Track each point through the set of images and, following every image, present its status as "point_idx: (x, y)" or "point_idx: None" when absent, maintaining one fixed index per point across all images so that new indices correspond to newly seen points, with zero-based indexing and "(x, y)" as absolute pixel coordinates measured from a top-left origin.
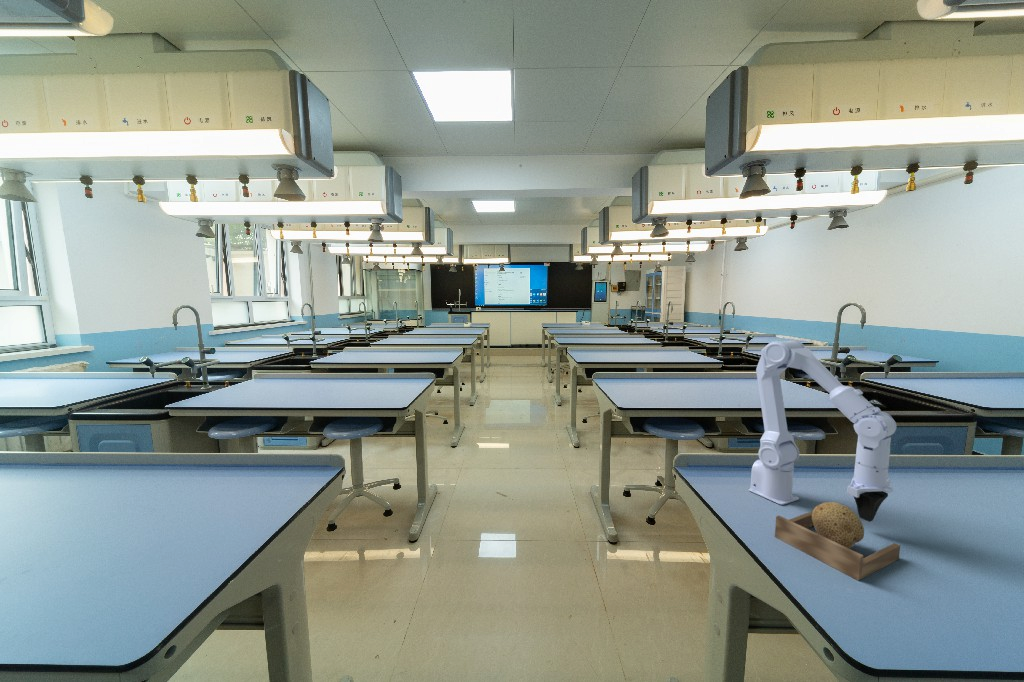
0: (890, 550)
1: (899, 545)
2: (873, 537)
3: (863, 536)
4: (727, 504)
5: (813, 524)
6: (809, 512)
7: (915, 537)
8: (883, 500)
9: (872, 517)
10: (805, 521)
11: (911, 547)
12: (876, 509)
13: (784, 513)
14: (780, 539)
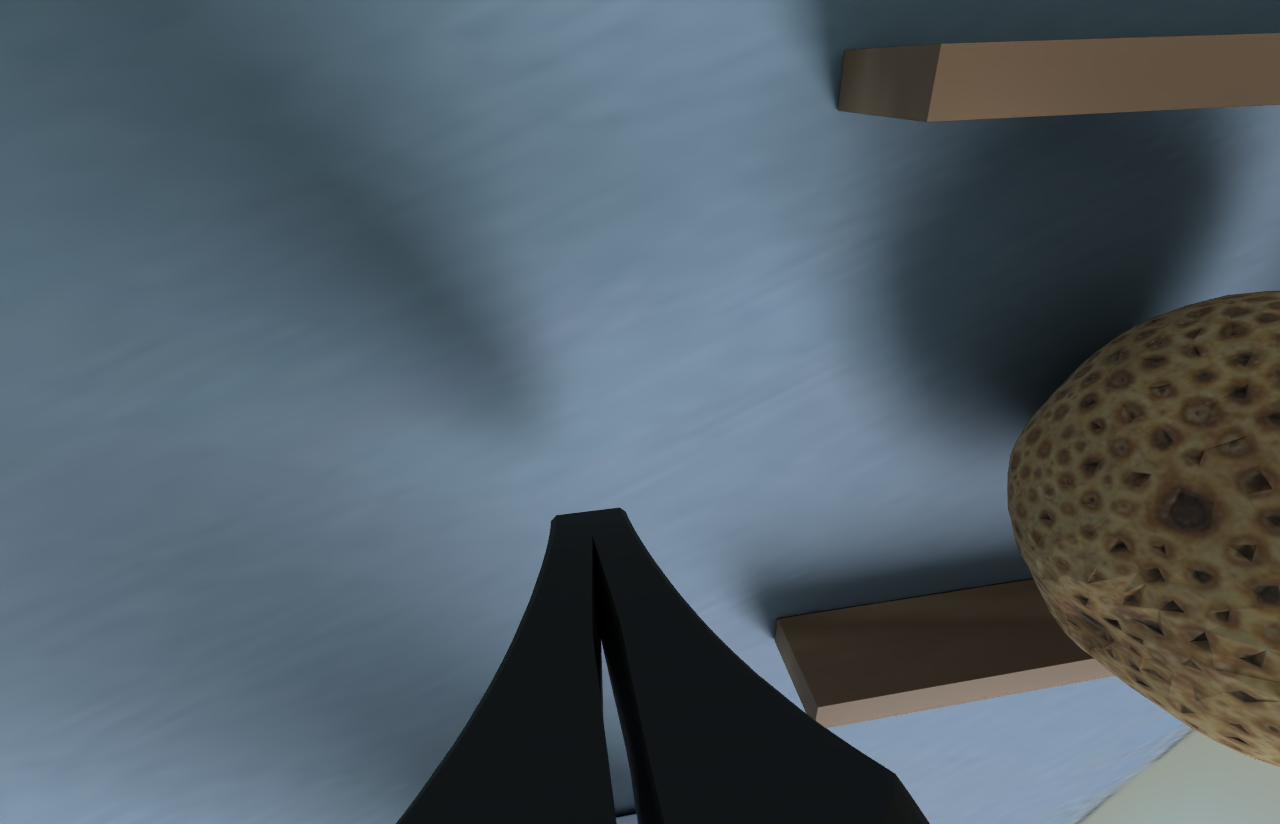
0: (1195, 36)
1: (951, 49)
2: (605, 382)
3: (1270, 302)
4: (1007, 814)
5: (858, 613)
6: (917, 709)
7: (82, 226)
8: (445, 777)
9: (611, 537)
10: (996, 638)
11: (414, 119)
12: (579, 622)
13: (844, 727)
14: None
